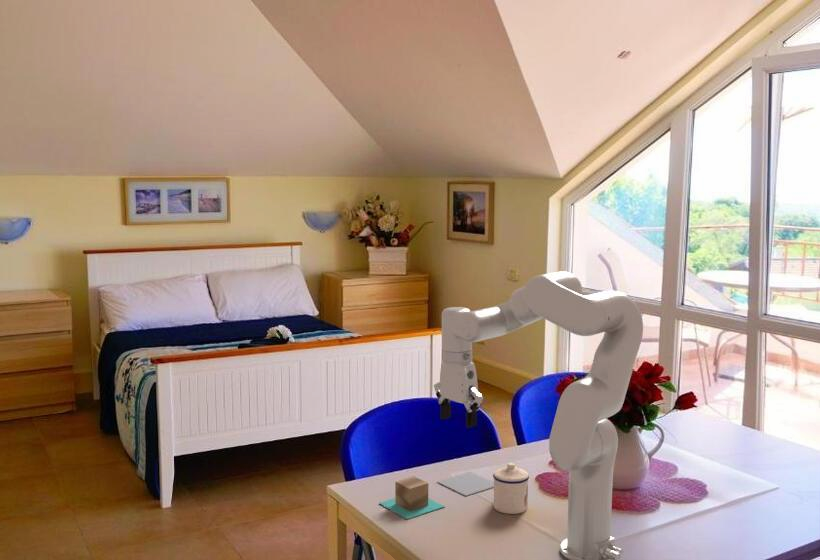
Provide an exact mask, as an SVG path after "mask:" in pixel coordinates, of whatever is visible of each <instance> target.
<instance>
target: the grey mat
mask: <svg viewBox="0 0 820 560" xmlns="http://www.w3.org/2000/svg"><path fill="white" fill-rule="evenodd" d="M439 483H440V484H439ZM437 484H439V485H441V484H442V486H443V485H444V486H443V487H445V486H446V487H445V488H447V489H449V488H450V490H452V491H454V492H456V493H458V494H460V495H462V496H465V497H469V496H471V495H472V496H473V495H475V494H478V493H481V492H484V491H488V490H490V488H491V489H494V488H493V487H494V481H491V480H490V479H487V478H485V477H483V476H480V475H478V474H476V473H473V472H471V471H469V472H465V473H462V474H459V475H455V476H451V477H449V478H445V479H441V480H438V481H437ZM487 489H488V490H487Z"/></svg>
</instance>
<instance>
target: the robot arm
mask: <svg viewBox="0 0 820 560" xmlns="http://www.w3.org/2000/svg"><path fill="white" fill-rule="evenodd" d="M582 292H583V288H582V284H581V281H580V279H579V278H578V277H577V276H576V275H575V274H573V273H571V272H568V271H564V270H563V271H554V272H547V273H544V274H543V273H542V274H538V275H536V276H534V277H532V278H531V279H530V280H528V282H527V283H526V284H525V285H524V286H522V287H519V288H518V289H515V290H514V291H513V292H512V293H511V296H510V298H509V300H507V301H505V302H502V303H500V304H497V305H495V306H490V307H485V308H480V309H475V310H470V309H469V308H467V307H465V306H464V307H463V306H450V307H446V308H444V309H443V310H442V312H441V349H442V350H441V353H442V355H441V357H442V360H441V364H440V371H439V382H437V383H435V384H433V387H434V391H435V395H436V397H437V399H438V401H437V402H438V404H439V409H440V410H439V411H440V413H439V415H440V417H439V418H440V420H446V419H450V418H451V417H452V404H451V403H452V402H451V401H453V402H455V403H460V404H463V405H464V407H465V409H466V411H465V427H466V428H467V429H470V428H472V427H476V426H477V424H478V419H477V418H478V414H477V413H478V412H477V411H479V410H480V409H479V408H481V406H482V403H483V400H484V396H483V395H482V393H480V392H479V386H478V385H479V383H478V376H477V375H478V374H477V370H476V365H475V362H473V360H474V355H473V343H478V342H482V341H486V340H489V339H493V338H494V339H495V338H498V337H502V336H504V335H507V334H510V333H512V332H514V331H516V330H519V329H521V328H524V327H526V326H530V325H531V324H534V323H535V322H537V321H540V320H542V319H544V320H545V321H548V322H550V323H551V324H553V325H556V326H557V327H560V328H562V329H564V330H566V331H567V332H570V333H572V334H573V335H576V336H581V337H591V336H595V335H597V334H601V333H604V334H603V336H602V339H601V340H600V342H599V344H598V345H597V348H596V349H595V353H594V356H593V360H592V362H591V363H592V364H591V367H590V368H589V372H588V373H587V375H586V376H585V377H583V378H582V379H578V380H576V381H574V382H572V383H570V384H569V385H568V386H566V388H564V391H562V394H561V396H560V398H559V400H558V404H557V408H556V412H555V415H554V419H553V423H552V427H551V431H550V435H549V439H548V451H549V455H550V458H551V460H552V461H553V463H554V464H555V465H556V466H557V467H558V468H560V469H562V470H564V471H569V474H568V475H569V476H568V496H567V497H568V499H567V500H568V502H567V504H568V505H567V534H566V535H567V538H565V539H564V540H562V542H560V545H559V551H560V553H561V555H562V556H563V557H564V558H565V559H567V560H621V556H622V554H624V553H623V552H624V550H623V549H622V548H621V547H617V546H615V537H613V536H611V535H612V533H611V532H612V505H613V504H612V502H613V501H612V500H613V483H614V482H613V479H614V467H615V461H616V456H617V451H618V447H619V437H618V432H617V429H616V427H615V425H614V424H613V422H612V421H611V420H610V419H608V418H610V417H612V416H614V415H616V414H617V413H619V412H620V411H621V409H622V408H623V404H624V402H625V400H626V396H627V395H626V394H627V391H628V388H629V384H630V381H631V377H632V374H633V370H634V365H635V363H636V359H637V357H638V353H639V350H640V348H641V343H642V339H643V335H644V321H643V317H642V314H641V310H640V308H639V307H638V305H637V304H636V302H635V301H634V300H633V299H632V297H630V296H629V295H627V294H625V293H624V292H621V291H618V290H604V291H598V292H595V293H591V294H585V295H582V294H583V293H582ZM470 404H471V405H470Z"/></svg>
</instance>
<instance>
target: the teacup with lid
mask: <svg viewBox="0 0 820 560" xmlns="http://www.w3.org/2000/svg"><path fill="white" fill-rule="evenodd" d="M492 477H493V482H494V488H493V508H494V509H495V510H496V511H497V512H500V513H502V514H506V515H517V514H522V513H524V512H526V511H527V510H528V502H529V500H528V498H529V497H528V495H529V493H528V492H529V479H530V476H529V473H528V472H527V471H526V470H525V469H522V468H519V467H517V466H516V465H515V463H514V462H508V463H507V464H506V466H504V467H499V468H497V469H496V470H495V471H494V472H493V474H492Z"/></svg>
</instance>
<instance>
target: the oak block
mask: <svg viewBox="0 0 820 560" xmlns="http://www.w3.org/2000/svg"><path fill="white" fill-rule="evenodd" d="M394 488H395V491H394V492H395V496H394V497H395V499H396V504H397V505H398V506H400V507H402V508H404V509H406V510H408V511H413V510H416V509H419V508H422V507H425V506H428V498H429V482H427V481H424V480H423V479H420V478H419V477H416V476H411V477H410V476H409V477H407V478H403V479H400V480H396V481H395V487H394Z"/></svg>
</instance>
